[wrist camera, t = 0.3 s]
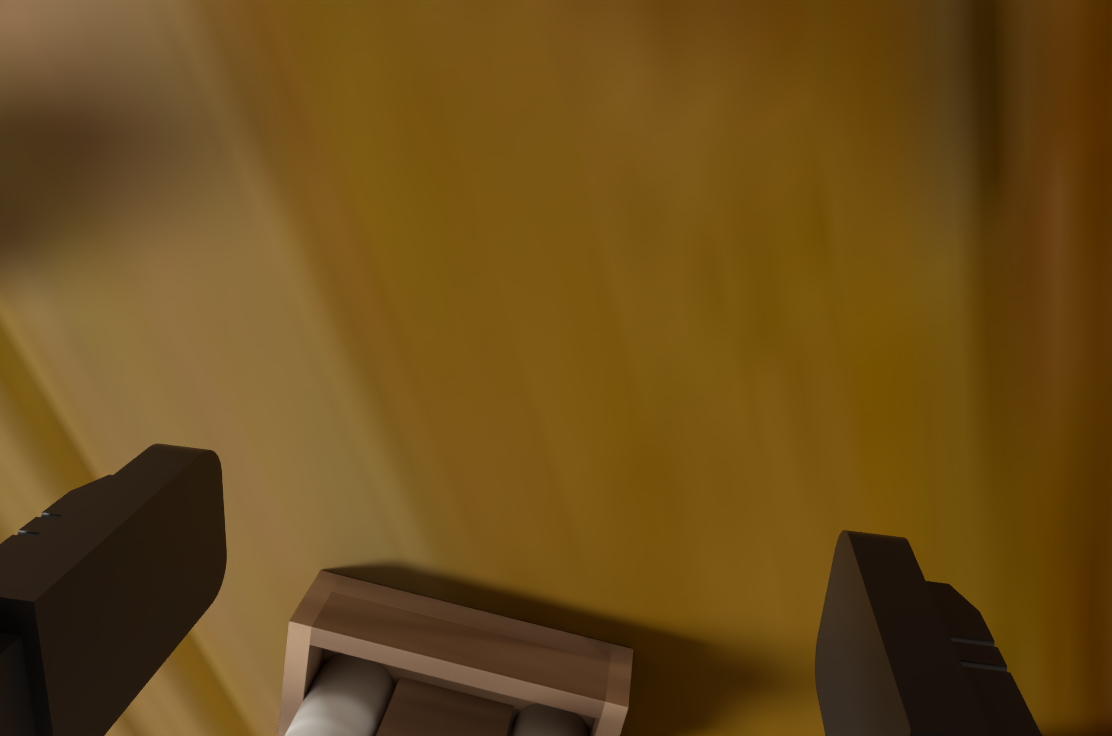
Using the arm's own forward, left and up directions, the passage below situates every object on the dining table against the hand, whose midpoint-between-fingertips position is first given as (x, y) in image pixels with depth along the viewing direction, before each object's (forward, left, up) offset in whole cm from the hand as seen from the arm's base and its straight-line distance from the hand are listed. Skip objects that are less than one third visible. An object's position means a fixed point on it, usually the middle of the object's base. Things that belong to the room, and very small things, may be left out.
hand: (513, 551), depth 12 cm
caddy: (+20, -2, -18) cm, 27 cm away
